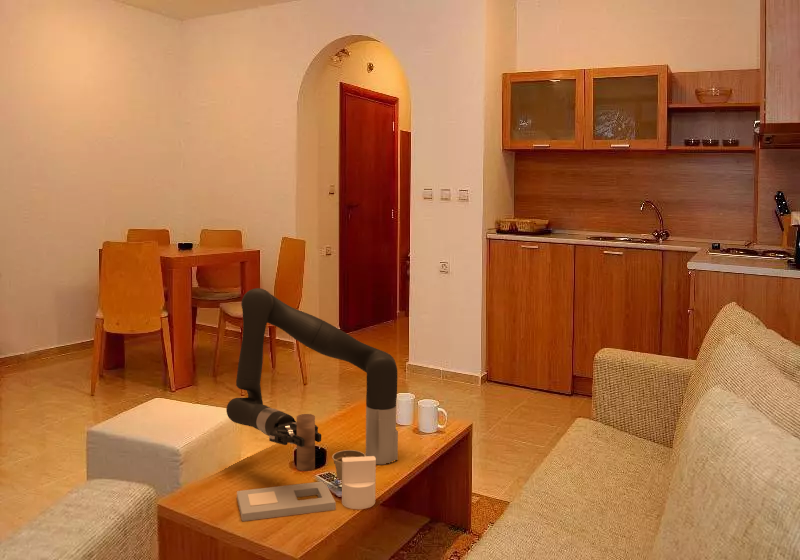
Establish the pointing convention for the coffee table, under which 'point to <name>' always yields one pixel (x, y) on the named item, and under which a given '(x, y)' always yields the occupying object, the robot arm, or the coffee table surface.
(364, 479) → the base with upright slab
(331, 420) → the coffee table surface
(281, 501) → the board
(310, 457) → the walnut cylinder
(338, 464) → the flower pot
